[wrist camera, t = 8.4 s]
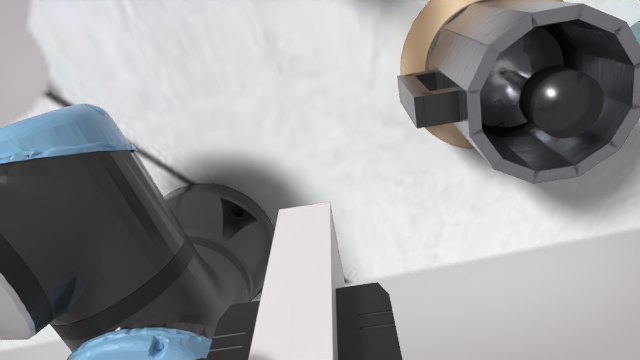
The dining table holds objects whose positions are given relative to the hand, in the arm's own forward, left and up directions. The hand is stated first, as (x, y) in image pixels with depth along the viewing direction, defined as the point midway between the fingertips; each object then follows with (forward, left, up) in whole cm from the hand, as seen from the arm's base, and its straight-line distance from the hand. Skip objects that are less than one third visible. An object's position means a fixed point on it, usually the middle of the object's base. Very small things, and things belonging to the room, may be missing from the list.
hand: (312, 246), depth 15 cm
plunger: (+16, -3, -31) cm, 35 cm away
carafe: (+16, -3, -36) cm, 39 cm away
